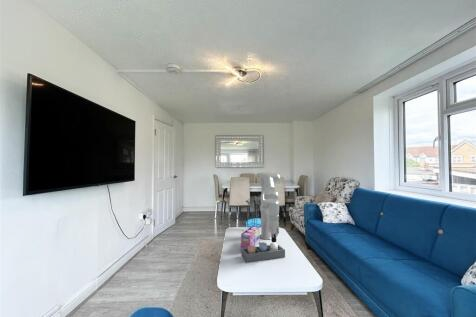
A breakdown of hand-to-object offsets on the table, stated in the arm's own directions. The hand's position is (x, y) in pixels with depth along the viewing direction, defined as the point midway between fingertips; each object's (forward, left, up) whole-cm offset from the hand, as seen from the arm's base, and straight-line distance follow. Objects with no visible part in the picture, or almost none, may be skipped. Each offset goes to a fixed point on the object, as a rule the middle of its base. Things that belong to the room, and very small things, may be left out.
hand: (273, 241), depth 168 cm
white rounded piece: (0, 0, -7) cm, 8 cm away
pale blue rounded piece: (+1, -9, -6) cm, 11 cm away
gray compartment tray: (+1, -9, -10) cm, 13 cm away
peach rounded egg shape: (+1, -18, -7) cm, 20 cm away
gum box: (-20, -11, -10) cm, 25 cm away
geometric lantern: (-61, +9, -10) cm, 63 cm away
